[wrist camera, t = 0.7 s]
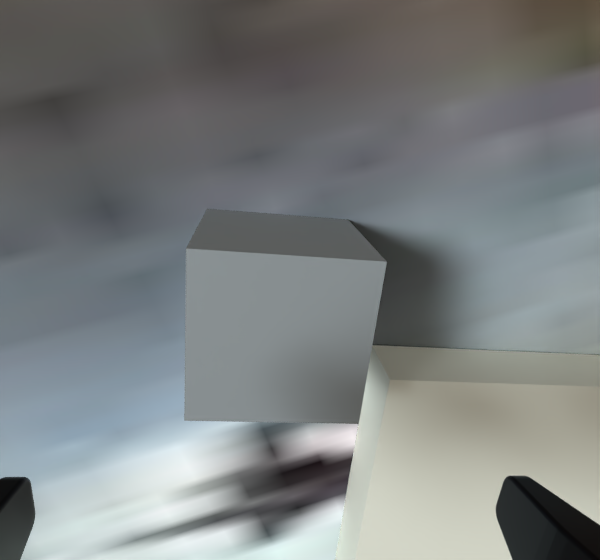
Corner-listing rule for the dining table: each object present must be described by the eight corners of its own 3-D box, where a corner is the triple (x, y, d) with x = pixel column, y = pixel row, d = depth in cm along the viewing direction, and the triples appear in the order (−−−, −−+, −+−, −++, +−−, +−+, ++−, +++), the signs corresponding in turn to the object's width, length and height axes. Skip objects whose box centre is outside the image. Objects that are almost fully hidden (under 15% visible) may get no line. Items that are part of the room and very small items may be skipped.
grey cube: (330, 342, 21) (358, 423, 15) (204, 336, 20) (184, 420, 15) (347, 219, 19) (387, 261, 13) (207, 208, 18) (186, 248, 13)
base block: (544, 573, 28) (575, 623, 25) (331, 578, 26) (340, 633, 24) (631, 356, 23) (684, 389, 20) (372, 345, 21) (389, 379, 18)
